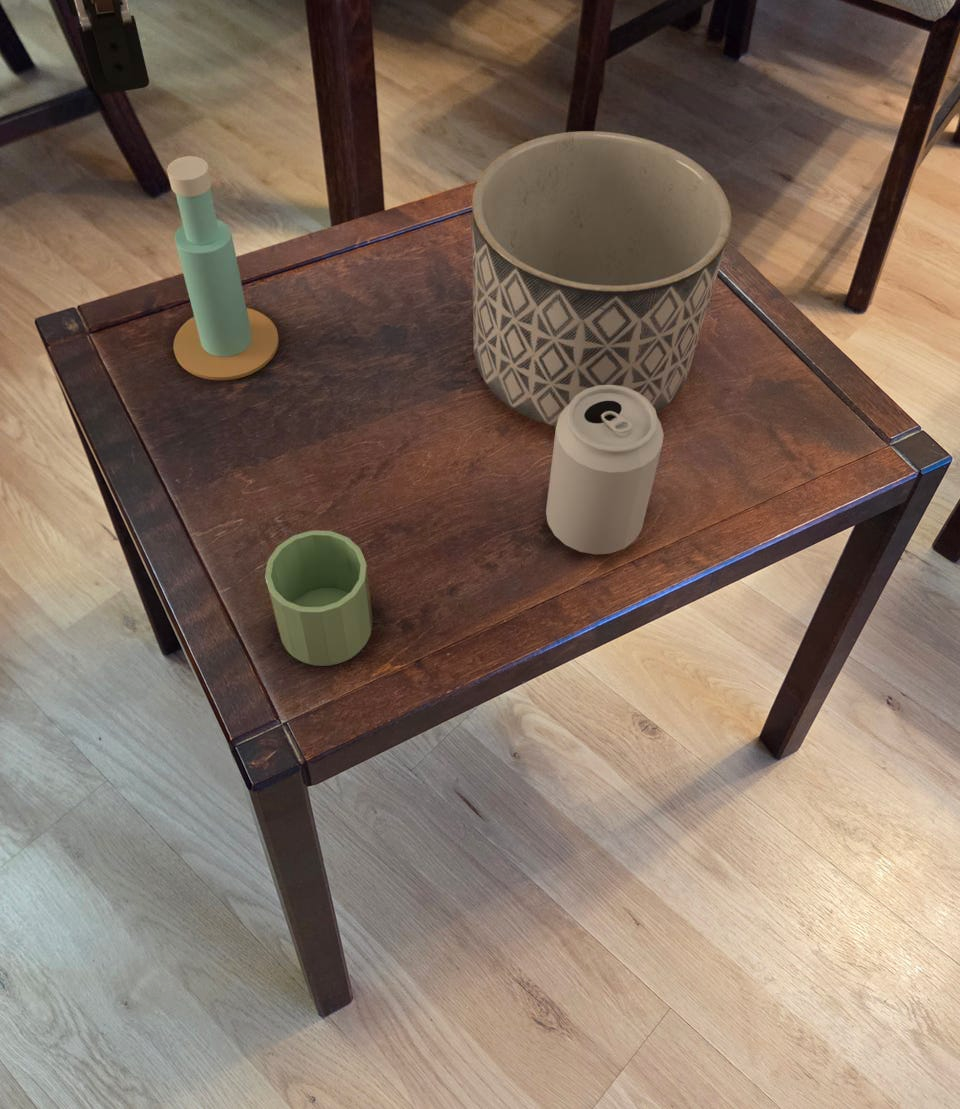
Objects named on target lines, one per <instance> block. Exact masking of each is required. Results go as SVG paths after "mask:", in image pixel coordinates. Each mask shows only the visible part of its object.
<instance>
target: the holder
mask: <svg viewBox="0 0 960 1109" xmlns="http://www.w3.org/2000/svg"><path fill="white" fill-rule="evenodd" d="M264 579H265V583H266V587H267V591H268V595H269V600H270V604H271V608H272V611H273V616H274V619H275V623H276V627H277V632H278V634H279V637H280V641H281V643H282V646H283V647H284V649H285V650H286V651H287V652H288V654H290V655H291V656H292V657H293V658H294V659H296V660H298V661H300V662H302V663H304V664H307V665H310V666H316V667H318V666H319V667H328V666H336V665H338V664H342V663H345V662H347V661H349V660H350V659H353V657H355V656H357V654H358V653H360V652H361V650H362V649H363V648H364V647H365V646H366V645H367V643H368V641H369V640H370V637H371V634H372V630H373V611H372V610H373V609H372V601H371V593H370V583H369V582H370V581H369V574H368V565H367V562H366V559H365V555H364V554H363V551H362V548H360V547H359V546H358V545H357V543H355V542H354V541H353V540H352V539H351V538H350V537H348V536H345V535H344V534H340V533H337V532H335V531H332V530H316V529H315V530H308V531H305V532H300V533H298V534H294V535H292V536H291V537H289V538H288V539H286V540H285V541H283V542H282V543H280V544H279V545H277V547H276V548H275V549H274V550H273V552H272V553H271V555H270V556H269V558H268V560H267V562H266V568H265V574H264Z"/></svg>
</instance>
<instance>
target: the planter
mask: <svg viewBox="0 0 960 1109" xmlns="http://www.w3.org/2000/svg"><path fill="white" fill-rule="evenodd" d="M471 210H472V212H471V213H472V214H471V220H472V222H471V223H472V226H471V228H472V229H471V230H472V316H473V318H472V320H473V323H472V328H473V329H472V330H473V331H472V332H473V334H472V335H473V356H474V361H475V364H476V367H477V370H478V372H479V375H480V376H481V378H482V380H483V382H484V383H485V384H486V386H487V387H488V388H489V389H490V391H491V392H492V393H493V394H494V396H496V397H497V399H499V400H500V401H501V402H502V403H504V404H505V405H506V406H508V407H509V408H511V409H512V410H513V411H515V412H517V413H518V414H520V415H522V416H524V417H526V418H528V419H531V420H532V421H535V422H537V423H541V424H544V425H547V426H550V427H554V428H556V426H557V422H558V418H559V415H560V414H561V413H562V411H563V410H564V409H565V407H566V406H567V405H569V404H570V402H571V401H572V400H573V398H574V397H575V396H576V395H577V394H579V393H580V392H582V391H584V390H585V389H588V388H591V387H594V386H598V385H617V386H622V387H627V388H629V389H631V390H634V391H636V392H638V393H640V394H641V395H642V396H644V397H645V398H646V399H648V400H649V402H650V403H651V404H652V406H653V407H654V408H655V410H656V414H657V413H659V412H660V411H662V410H663V409H664V408H666V407H667V406H669V405H670V403H672V402H673V401H674V399H675V398H676V397H677V396H678V394H679V393H680V392H681V390H682V389H683V387H684V385H685V383H686V381H687V379H688V376H689V373H690V370H691V367H692V361H693V359H694V356H695V353H696V349H697V346H698V342H699V338H700V335H701V332H702V328H703V325H704V322H705V318H706V315H707V311H708V309H709V305H710V301H711V299H712V298H711V297H712V294H713V291H714V288H715V284H716V281H717V277H718V273H719V270H720V266H721V263H722V260H723V257H724V253H725V249H726V246H727V244H728V239H729V236H730V233H731V230H732V229H731V227H732V212H731V206H730V203H729V200H728V197H727V196H726V194H725V192H724V190H723V189H722V187H721V185H720V184H719V183H718V181H717V180H716V179H715V178H714V177H713V175H711V174H710V173H709V172H708V171H707V170H706V169H705V168H704V167H702V165H700V164H699V163H698V162H696V161H695V160H693V159H692V158H690V157H688V155H685V154H684V153H682V152H680V151H678V150H675V149H673V148H671V147H670V146H667V145H665V144H662V143H659V142H656V141H653V140H650V139H647V138H643V137H639V136H635V135H630V134H626V133H620V132H619V133H618V132H610V131H598V130H597V131H595V130H585V131H584V130H581V131H567V132H559V133H553V134H548V135H544V136H540V137H537V138H534V139H531V140H528V141H525V142H522V143H520V144H518V145H516V146H513V147H512V148H510V149H508V150H506V151H505V152H503V153H502V154H500V155H499V156H497V157H496V158H495V159H494V160H492V162H491V163H490V164H488V166H486V168H485V169H484V170H483V172H481V175H479V178H478V179H477V181H476V184H475V185H474V188H473V192H472V200H471Z"/></svg>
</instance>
